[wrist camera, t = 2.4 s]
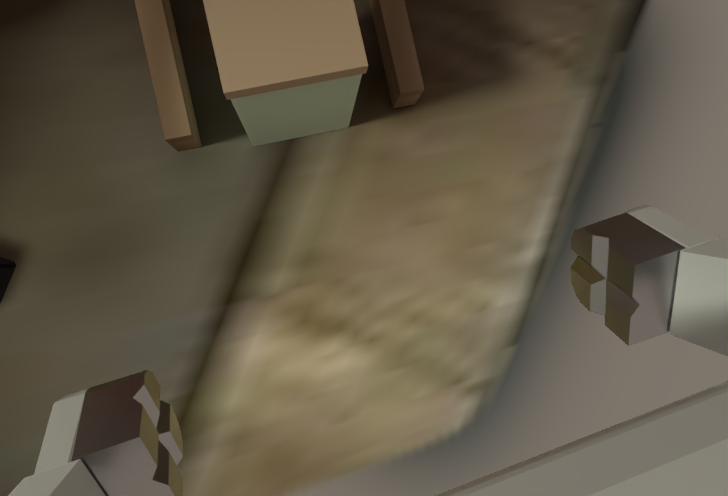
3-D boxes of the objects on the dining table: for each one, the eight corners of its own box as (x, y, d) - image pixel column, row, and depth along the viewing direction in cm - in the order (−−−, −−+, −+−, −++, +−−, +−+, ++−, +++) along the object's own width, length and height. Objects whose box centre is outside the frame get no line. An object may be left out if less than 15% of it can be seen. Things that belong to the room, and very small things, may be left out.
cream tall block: (251, 148, 29) (223, 93, 20) (229, 50, 29) (191, -52, 20) (350, 129, 29) (368, 65, 20) (328, 31, 29) (336, -75, 20)
